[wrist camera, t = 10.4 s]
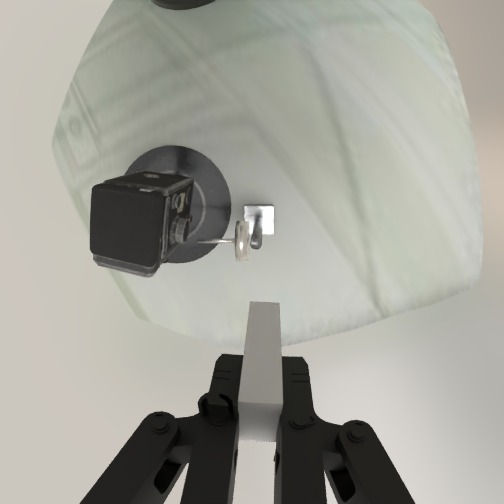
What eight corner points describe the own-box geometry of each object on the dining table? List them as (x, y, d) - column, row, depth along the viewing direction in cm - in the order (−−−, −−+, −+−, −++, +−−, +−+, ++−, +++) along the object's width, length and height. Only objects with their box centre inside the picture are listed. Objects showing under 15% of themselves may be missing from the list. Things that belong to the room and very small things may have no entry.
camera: (134, 235, 42) (82, 275, 28) (139, 168, 39) (81, 183, 25) (196, 247, 43) (163, 296, 29) (206, 177, 39) (171, 196, 25)
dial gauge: (213, 203, 40) (192, 227, 29) (273, 203, 40) (275, 227, 29) (215, 233, 42) (195, 266, 31) (273, 233, 41) (274, 267, 30)
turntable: (114, 152, 38) (113, 152, 38) (229, 141, 37) (229, 141, 37) (126, 261, 45) (126, 262, 44) (232, 263, 44) (232, 264, 43)
